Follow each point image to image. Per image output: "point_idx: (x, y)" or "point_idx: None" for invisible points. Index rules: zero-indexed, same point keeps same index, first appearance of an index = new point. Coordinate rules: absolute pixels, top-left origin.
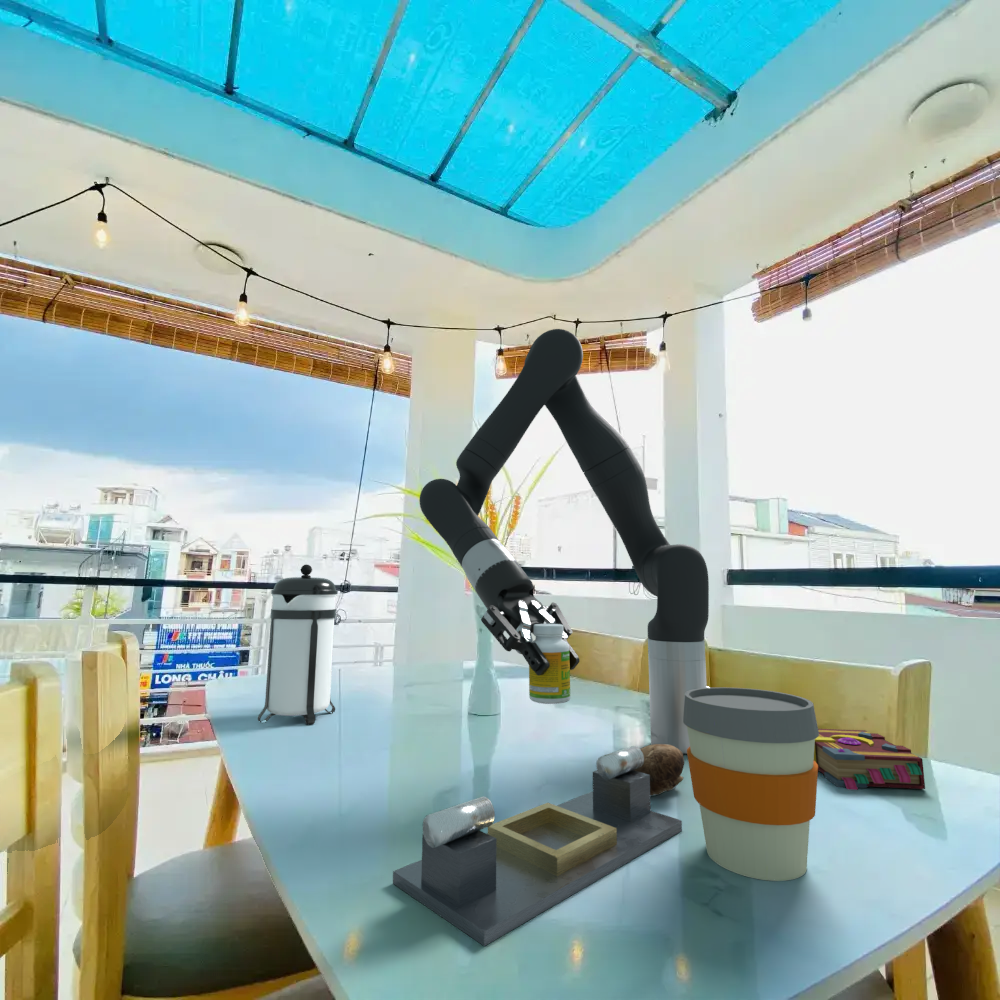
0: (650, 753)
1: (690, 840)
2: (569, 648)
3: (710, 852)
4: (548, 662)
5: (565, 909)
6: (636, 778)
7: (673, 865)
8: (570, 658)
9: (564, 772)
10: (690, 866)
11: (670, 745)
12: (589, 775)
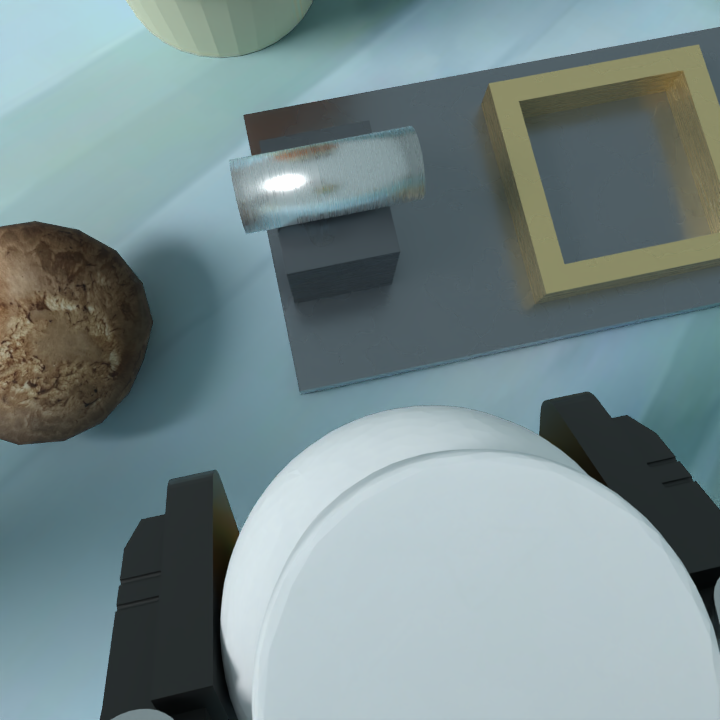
0: (62, 304)
1: (272, 86)
2: (197, 570)
3: (308, 1)
4: (556, 406)
5: (692, 25)
6: (321, 138)
7: (400, 31)
8: (222, 536)
9: None
10: (373, 12)
11: None
12: None
